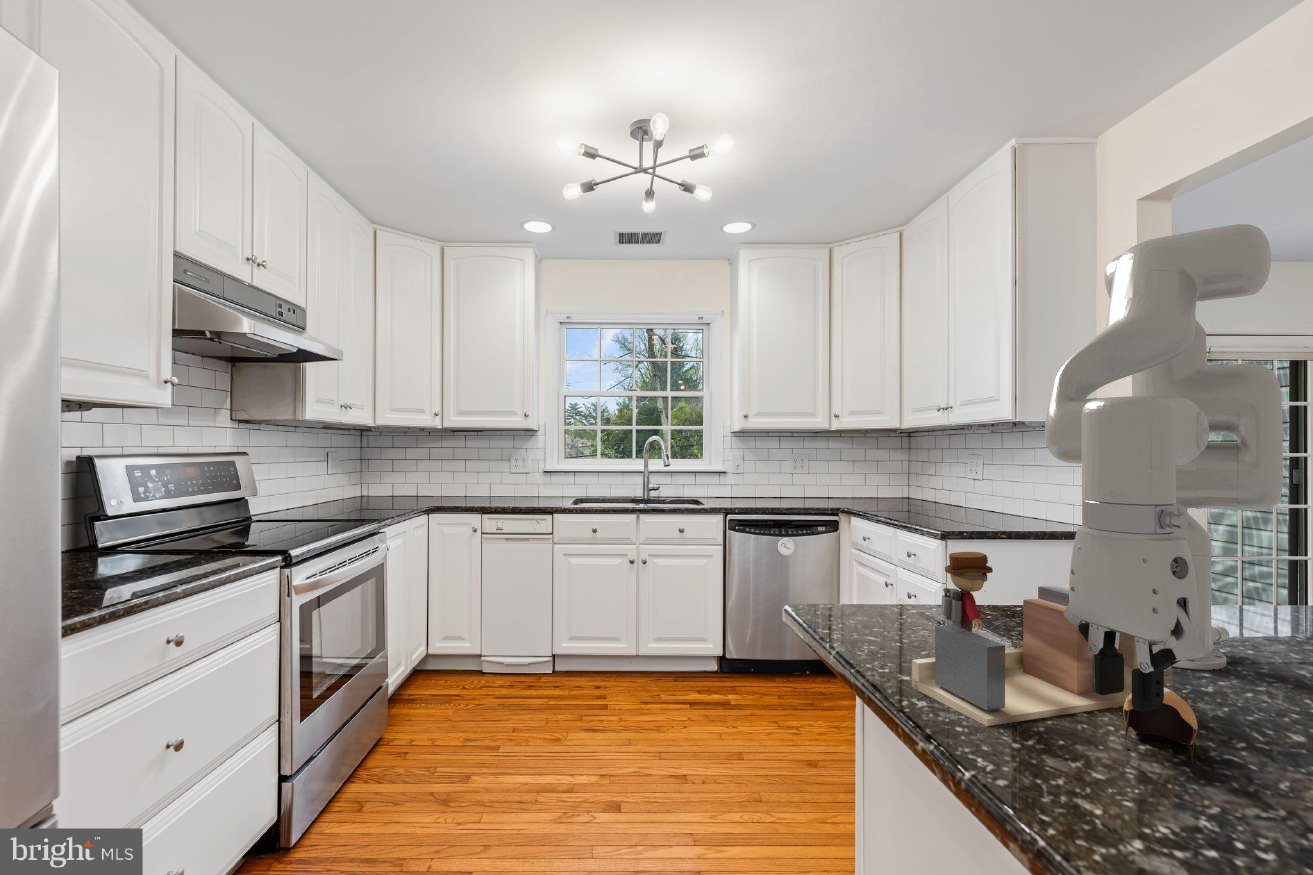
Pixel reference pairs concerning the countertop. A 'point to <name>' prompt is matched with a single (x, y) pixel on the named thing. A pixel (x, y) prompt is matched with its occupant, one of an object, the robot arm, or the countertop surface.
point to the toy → (965, 589)
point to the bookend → (970, 666)
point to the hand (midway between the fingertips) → (1127, 698)
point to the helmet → (1164, 720)
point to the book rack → (1040, 668)
